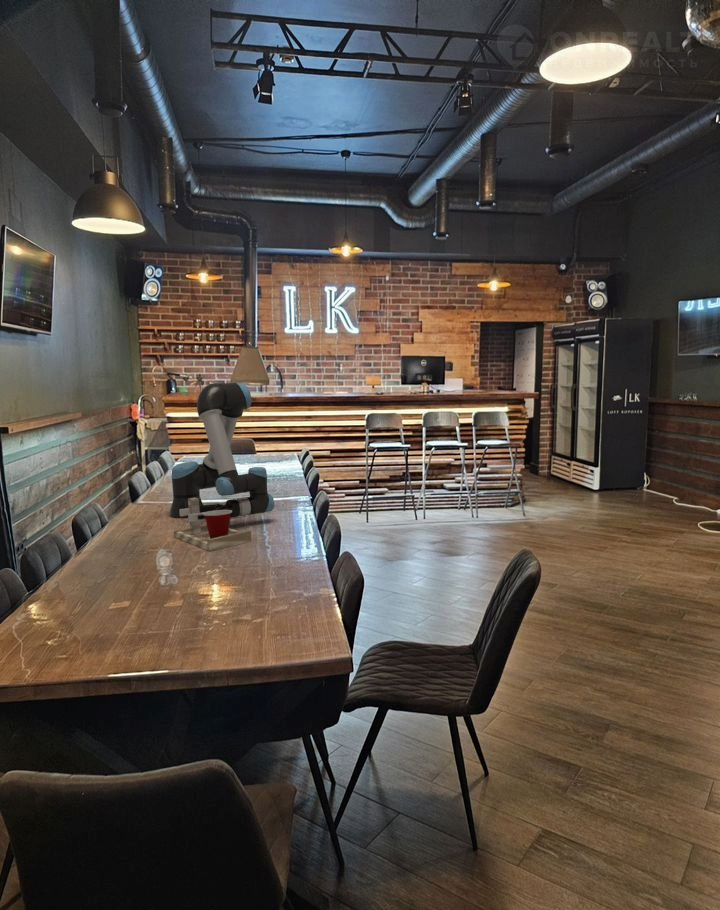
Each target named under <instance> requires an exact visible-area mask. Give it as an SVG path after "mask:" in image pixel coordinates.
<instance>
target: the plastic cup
mask: <svg viewBox="0 0 720 910" xmlns="http://www.w3.org/2000/svg"><path fill="white" fill-rule="evenodd" d="M231 513H232V511H231V510H215V511H208V512H204V513H203V515H204V517H205V520H204V521H205V523H206V524H207V528H208V531H207V532H208V535H209V539H212V538H217V537H221V536H225V535H228V531H229V528H230V523H231V521H230V520H231V518H230V516H231ZM206 524H205V525H206Z"/></svg>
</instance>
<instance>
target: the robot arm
mask: <svg viewBox="0 0 720 910" xmlns="http://www.w3.org/2000/svg"><path fill="white" fill-rule="evenodd" d="M251 405H252V394H251V390H250V389H249V387H248V386H247V384H245V383H243V382H225V383H223V382H221V383H220V382H216V383H209V384H207V385H206V386H204V387H203V388H202V389H201V391H200V392H199V395H198V397H197V401H196V410H197V415H198V418H199V420H201V421H202V422H203V426H204V430H205V433H206V437H207V440H208V443H209V451H208V453H207V455H205V456H204V457H203V460H202V463H198V461H188V462H187V461H186V462H182V463H178V464H175V465H174V466H173V467H172V468H171V475H170V476H171V477H170V478H171V483H172V484H171V485H172V486H171V487H172V501H171V506H170V510H169V515H170V517H172V518H177V519H187V518H188V522H189V523H190V522H192V521H198V520H200V521H206V520H205V517H204V515H203V513H204V512H208V511H215V510H231V511H232V513H231V516H230V519H233V518H238V517H243V518H245V517H246V516H250V515H251V516H252V515H256V514H257V515H258V514H265V513H269V512H272V511H273V510H274V508H275V500H274V496H273V495H272V494H271V493H268V473H267V468H265V467H263V466H252V467H249V468H248V472H247V473H243V474H239V472H238V469H237V466H236V463H235V460H234V456H233V453H232V450H231V449H232V448H231V445H232V440H233V436H234V434H235V430H236V426H237V422H238V420H239V418H241V417H243V415H244V410H249V408H251ZM211 488H213V489H214V488H215V490H216V492H217V494H218V495H219V496H221V497H224V496H233V495H237V494H243V493H249V496H244V497H238V498H231V499H227V500H226V501H225V504H224V505H223V504H222V503H215V504H204V503H203V501H202V499H201V495H200V493H201V492H200V490H205V489H206V490H207V489H211ZM190 498H199V510H200V513H196V514H190V515H189V505H188V499H190Z"/></svg>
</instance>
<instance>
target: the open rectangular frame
mask: <svg viewBox="0 0 720 910" xmlns="http://www.w3.org/2000/svg"><path fill="white" fill-rule="evenodd" d="M188 505H189V515H190V514H196V513H200V510H199V498H190V499H188ZM205 532H206V533H207V532H208V528H207V524H201V520H198V521H192V522H189V527H188V528H182V529H178V530H174V531H173V537H174V538H175V539H178V540H180V541H183V542H185V543H188V544H190V545H193V546H195V547H198V548H201V549H203V550H205V551H208V552H213V551H218V550H221V549H225V548H229V547H234V546H238V545H242V544H246V543H251V542H252V530H250V529H247V530H243V531H239V530H237V529H233V528H230V527H229V531H228V535H225V536H221V537H217V538H212V539H210V538H209V539H208V538H207V539H206V540H205V539H201V538H199V537H196V536H194V535H198V534H203V533H205Z"/></svg>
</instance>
